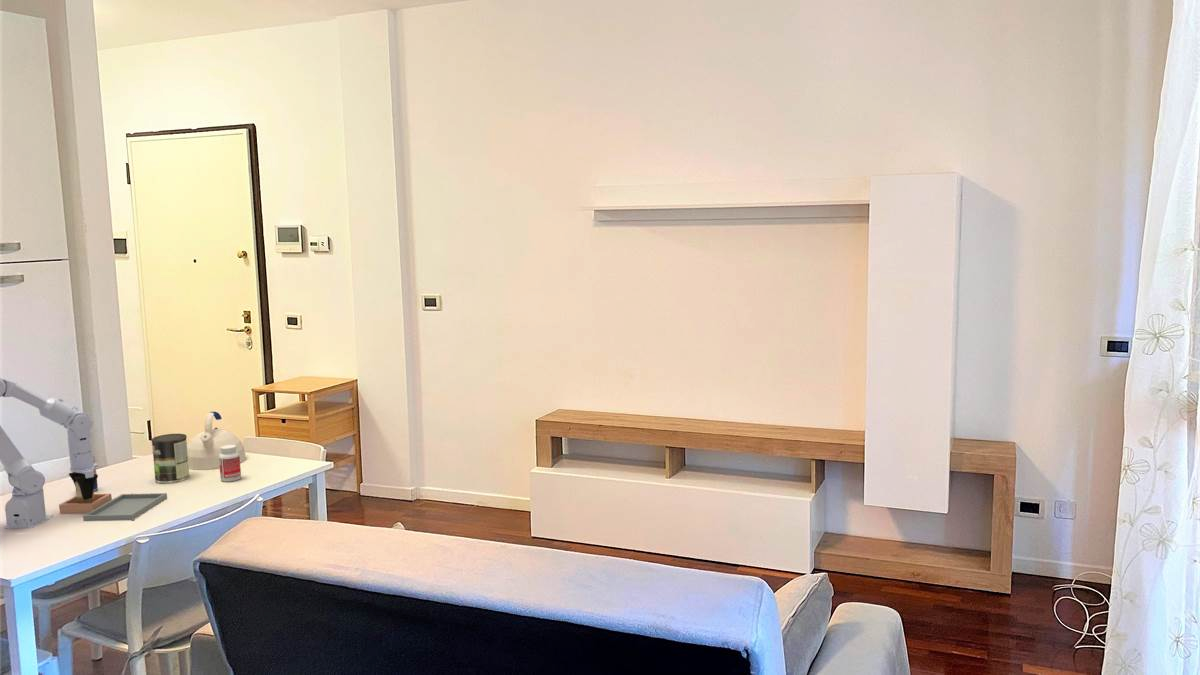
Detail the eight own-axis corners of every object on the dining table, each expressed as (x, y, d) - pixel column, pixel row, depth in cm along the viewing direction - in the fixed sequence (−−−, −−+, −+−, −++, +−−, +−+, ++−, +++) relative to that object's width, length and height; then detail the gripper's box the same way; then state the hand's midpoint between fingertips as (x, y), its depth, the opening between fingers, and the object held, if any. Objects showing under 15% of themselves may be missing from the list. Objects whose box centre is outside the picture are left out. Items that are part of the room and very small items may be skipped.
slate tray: (132, 521, 236) (131, 514, 235) (83, 522, 236) (83, 516, 235) (167, 498, 255) (166, 493, 255) (122, 499, 255) (121, 494, 255)
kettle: (175, 472, 284) (170, 420, 282) (192, 456, 304) (188, 407, 302) (238, 468, 288) (234, 416, 285) (251, 452, 308) (247, 404, 306)
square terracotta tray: (93, 513, 242) (92, 503, 242) (60, 514, 242) (58, 504, 242) (112, 503, 252) (111, 493, 252) (80, 503, 252) (79, 494, 252)
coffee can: (159, 485, 269) (156, 442, 267) (151, 479, 277) (147, 437, 275) (194, 478, 276) (190, 437, 274) (184, 472, 283) (181, 431, 281)
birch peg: (89, 509, 245) (86, 483, 244) (74, 510, 245) (71, 483, 244) (98, 504, 249) (95, 478, 248) (83, 505, 249) (80, 479, 248)
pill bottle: (245, 477, 276) (242, 445, 274) (230, 483, 270) (227, 449, 269) (231, 475, 278) (228, 443, 277) (216, 481, 273) (213, 448, 271)
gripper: (103, 453, 243) (108, 498, 245) (89, 445, 253) (93, 488, 255) (75, 458, 238) (80, 504, 240) (62, 449, 248) (66, 494, 250)
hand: (85, 496), depth 247 cm, fingers closed on birch peg, 4 cm apart
